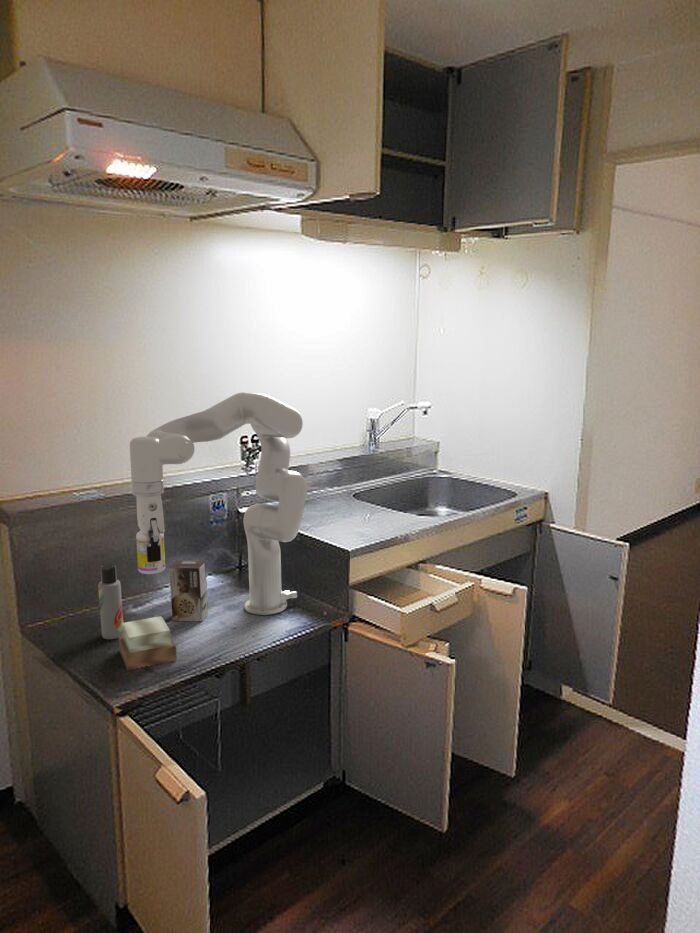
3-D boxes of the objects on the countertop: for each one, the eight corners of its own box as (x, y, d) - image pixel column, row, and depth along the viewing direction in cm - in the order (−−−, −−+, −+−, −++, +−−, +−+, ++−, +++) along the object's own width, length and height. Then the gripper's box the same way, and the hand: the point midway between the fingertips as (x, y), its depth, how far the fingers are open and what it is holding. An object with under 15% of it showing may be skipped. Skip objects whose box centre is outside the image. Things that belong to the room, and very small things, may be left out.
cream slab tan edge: (166, 642, 193) (164, 614, 192) (176, 660, 183) (174, 630, 181) (119, 651, 188) (117, 622, 186) (127, 670, 177) (125, 640, 176)
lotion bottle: (128, 632, 200) (123, 562, 196) (116, 640, 194) (111, 569, 190) (110, 630, 201) (105, 561, 197) (97, 638, 196) (92, 567, 192)
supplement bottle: (154, 564, 187) (152, 516, 184) (170, 570, 183) (168, 520, 180) (132, 571, 181) (129, 521, 179) (148, 576, 177) (146, 526, 175)
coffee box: (209, 613, 213) (206, 560, 209) (202, 622, 206) (199, 568, 203) (178, 612, 213) (175, 559, 210) (171, 620, 207) (168, 567, 204)
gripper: (171, 492, 172) (174, 564, 175) (155, 479, 187) (158, 546, 191) (138, 495, 169) (142, 569, 172) (125, 482, 184) (129, 549, 187)
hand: (151, 556), depth 181 cm, fingers closed on supplement bottle, 6 cm apart
